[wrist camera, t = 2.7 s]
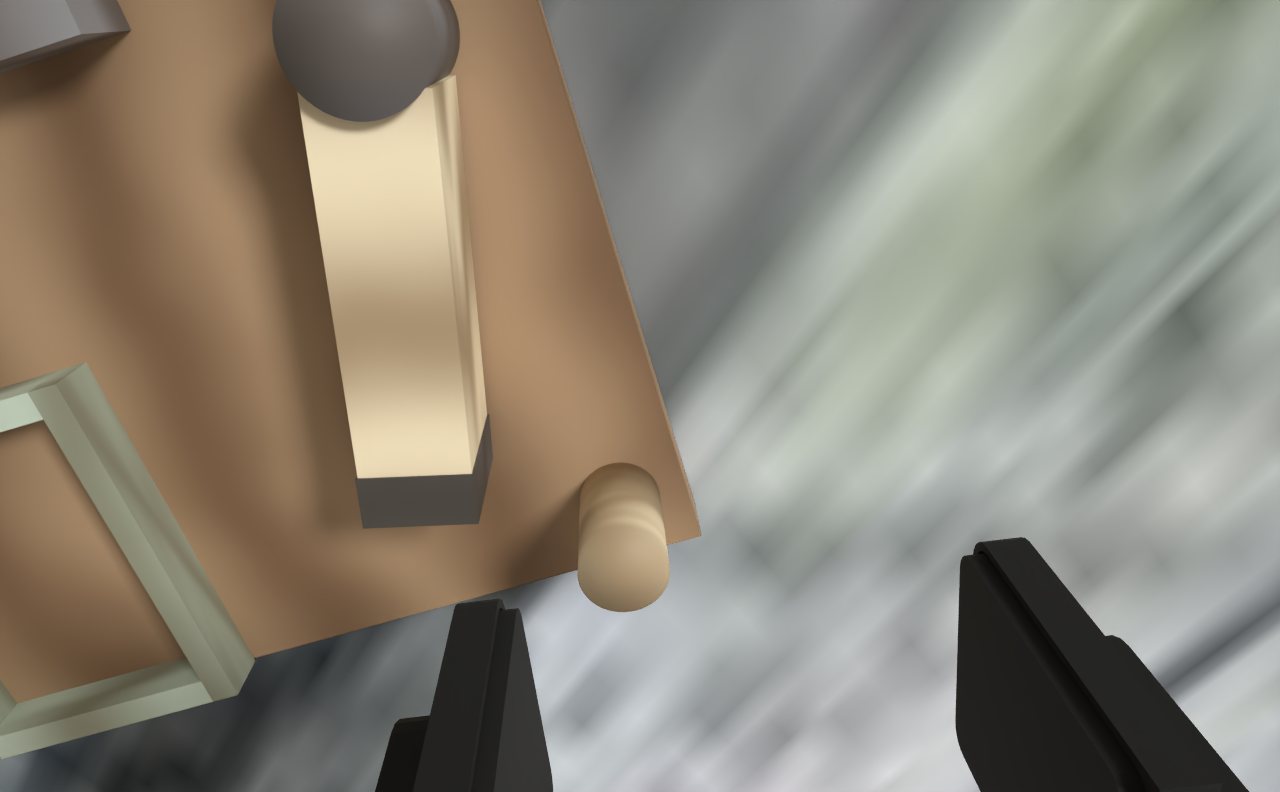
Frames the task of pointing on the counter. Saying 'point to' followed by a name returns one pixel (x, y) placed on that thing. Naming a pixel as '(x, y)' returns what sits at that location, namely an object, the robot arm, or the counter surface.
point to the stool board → (276, 365)
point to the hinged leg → (395, 248)
